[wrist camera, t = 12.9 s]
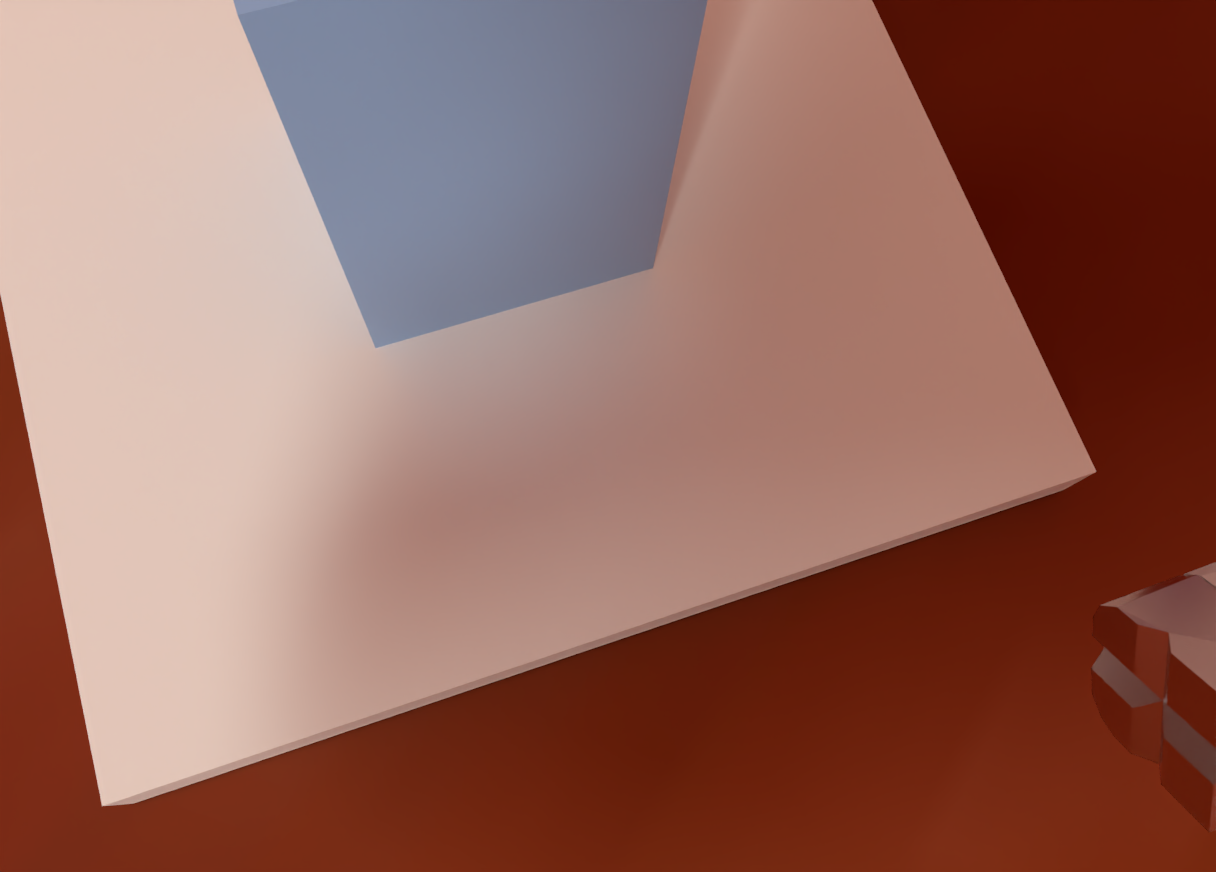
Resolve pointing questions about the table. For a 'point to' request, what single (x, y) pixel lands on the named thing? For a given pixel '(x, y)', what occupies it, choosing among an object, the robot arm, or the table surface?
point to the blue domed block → (479, 142)
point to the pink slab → (473, 385)
